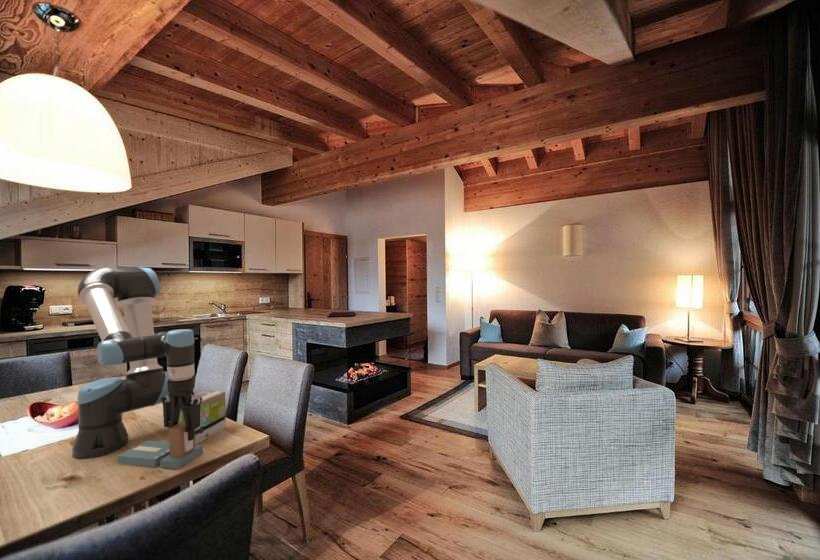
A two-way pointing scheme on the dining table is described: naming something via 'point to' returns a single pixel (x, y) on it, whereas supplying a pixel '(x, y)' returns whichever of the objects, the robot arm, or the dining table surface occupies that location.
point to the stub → (179, 448)
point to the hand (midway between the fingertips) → (182, 449)
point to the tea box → (209, 414)
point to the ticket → (145, 454)
